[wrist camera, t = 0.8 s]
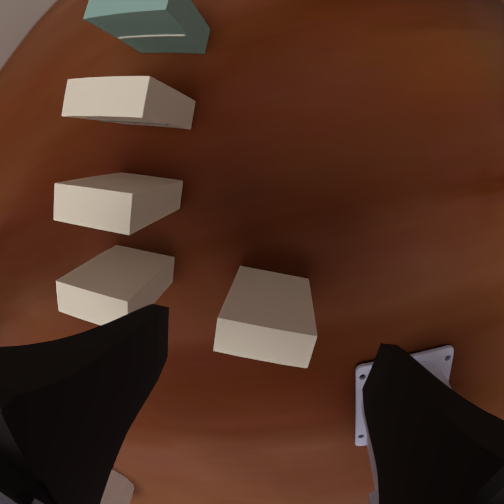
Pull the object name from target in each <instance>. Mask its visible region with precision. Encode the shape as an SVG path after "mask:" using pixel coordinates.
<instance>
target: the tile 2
mask: <svg viewBox="0 0 504 504" xmlns="http://www.w3.org/2000/svg"><path fill="white" fill-rule="evenodd" d="M195 102H196V101H194V100H193V99H191V98H189V97H187V96H186V95H184V94H182V93H180V92H178V91H177V90H175V89H173V88H171V87H169V86H168V85H166V84H164V83H162V82H160V81H158V80H156V79H154V78H153V77H151V76H113V77H92V78H77V79H68V82H67V87H66V92H65V98H64V104H63V110H62V116H64V117H74V118H83V119H92V120H100V121H101V122H115V123H122V124H130V125H146V126H159V127H171V128H182V129H191V125H192V119H193V114H194V108H195Z"/></svg>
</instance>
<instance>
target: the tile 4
mask: <svg viewBox="0 0 504 504" xmlns="http://www.w3.org/2000/svg"><path fill="white" fill-rule="evenodd" d="M174 260H175V257H172V256H167V255H162V254H158V253H153V252H148V251H143V250H138V249H134V248H129V247H124V246H120V245H115V246H113V247H112V248H110V249H108V250H106V251H105V252H103V253H101V254H100V255H98V256H96V257H94V258H93V259H91V260H89V261H88V262H86V263H84V264H83V265H81V266H79V267H78V268H76V269H74V270H73V271H71V272H69V273H68V274H66V275H64V276H63V277H61V278H59V279H58V280H56V289H57V300H58V310H59V311H60V312H63V313H65V314H68V315H71V316H74V317H77V318H80V319H83V320H86V321H89V322H92V323H95V324H98V325H103V324H106V323H109V322H111V321H113V320H115V319H118V318H120V317H122V316H124V315H127V314H129V313H131V312H133V311H135V310H138V309H140V308H142V307H145V306H147V305H150V304H154V303H155V302H156V301H157V299H158V298H159V297H160V296H161V295H162V294H163V293H164V291H165V290H166V289H167V288H168V287H169V286H170V285H171V283H172V282H173V271H174Z"/></svg>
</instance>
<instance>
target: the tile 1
mask: <svg viewBox="0 0 504 504" xmlns="http://www.w3.org/2000/svg"><path fill="white" fill-rule="evenodd" d="M83 19H84V20H86V21H88V22H89V23H91V24H93V25H95V26H97V27H98V28H100V29H102V30H104V31H105V32H107V33H109V34H111V35H112V36H114V37H116V38H117V39H119V40H121V41H123V42H124V43H126V44H128V45H129V46H131V47H132V48H134V49H136V50H137V51H139V52H141V53H200V54H205V51H206V47H207V42H208V37H209V33H210V28H209V26H208V25H207V23H206V22H205V20H204V19H203V17H202V16H201V14H200V13H199V11H198V10H197V8H196V7H195V5H194V4H193V2H192V1H191V0H89V2H88V5H87V8H86V11H85V15H84V18H83Z"/></svg>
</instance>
